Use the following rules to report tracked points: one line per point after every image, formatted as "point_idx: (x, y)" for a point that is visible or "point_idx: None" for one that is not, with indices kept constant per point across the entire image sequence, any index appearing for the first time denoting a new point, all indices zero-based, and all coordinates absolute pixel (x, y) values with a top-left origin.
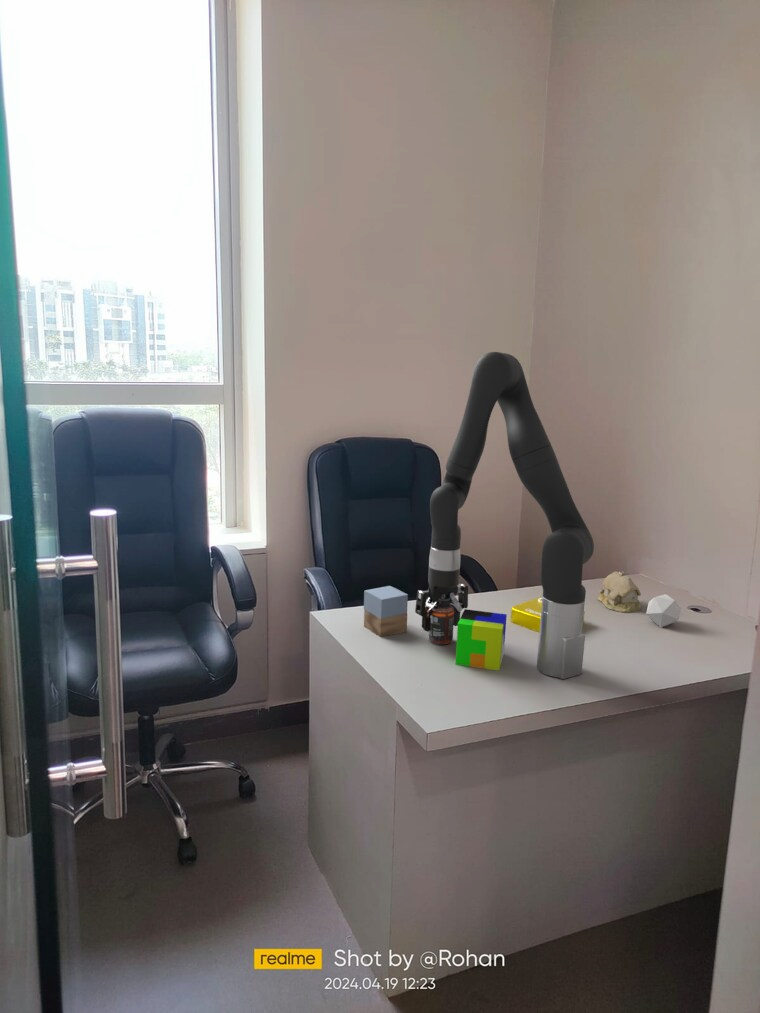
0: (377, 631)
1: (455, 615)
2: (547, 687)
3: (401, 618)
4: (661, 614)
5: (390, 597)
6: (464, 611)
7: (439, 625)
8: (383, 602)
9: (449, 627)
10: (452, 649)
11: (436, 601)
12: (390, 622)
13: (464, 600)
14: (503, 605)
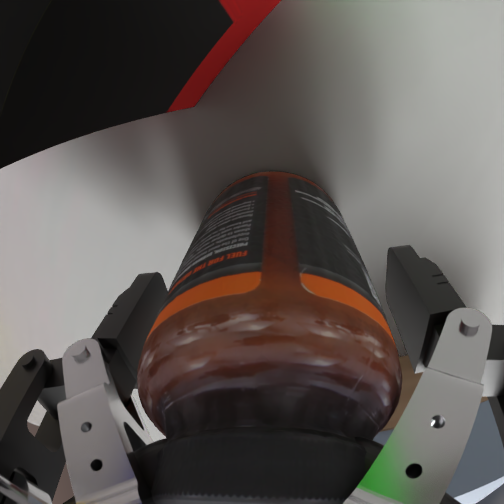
0: None
1: (135, 330)
2: None
3: (402, 409)
4: None
5: (481, 487)
6: (19, 35)
7: (343, 240)
8: None
9: (245, 211)
10: (265, 101)
11: (446, 481)
12: None
13: (15, 406)
14: (5, 376)
